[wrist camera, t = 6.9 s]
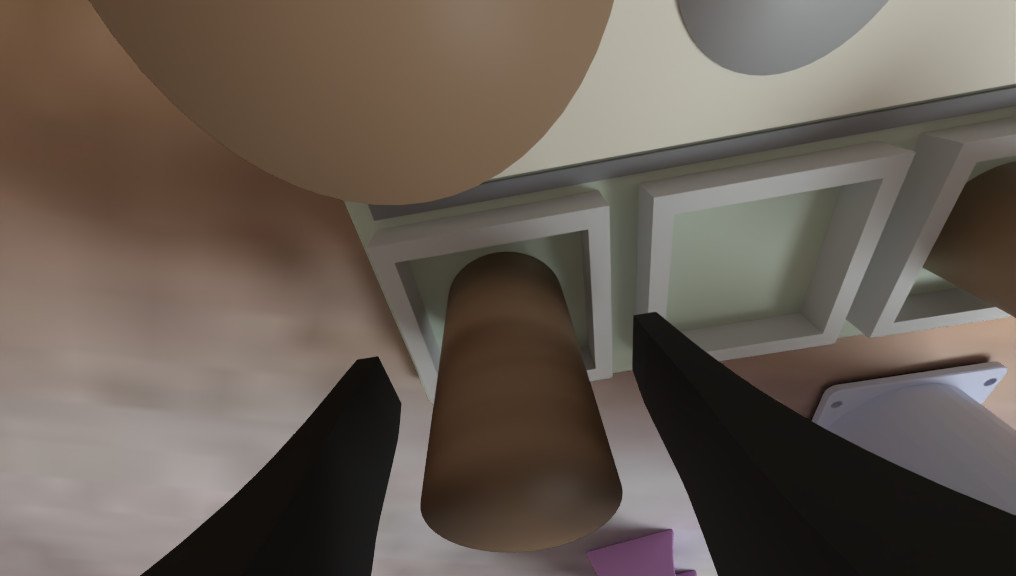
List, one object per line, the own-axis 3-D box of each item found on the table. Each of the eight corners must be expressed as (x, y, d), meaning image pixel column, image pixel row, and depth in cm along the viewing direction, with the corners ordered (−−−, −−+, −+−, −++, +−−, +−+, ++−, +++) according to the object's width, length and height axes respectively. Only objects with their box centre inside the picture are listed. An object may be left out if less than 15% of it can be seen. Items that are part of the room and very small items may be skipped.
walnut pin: (567, 334, 14) (623, 538, 9) (464, 352, 15) (451, 562, 9) (555, 241, 12) (620, 430, 6) (433, 264, 12) (390, 466, 7)
